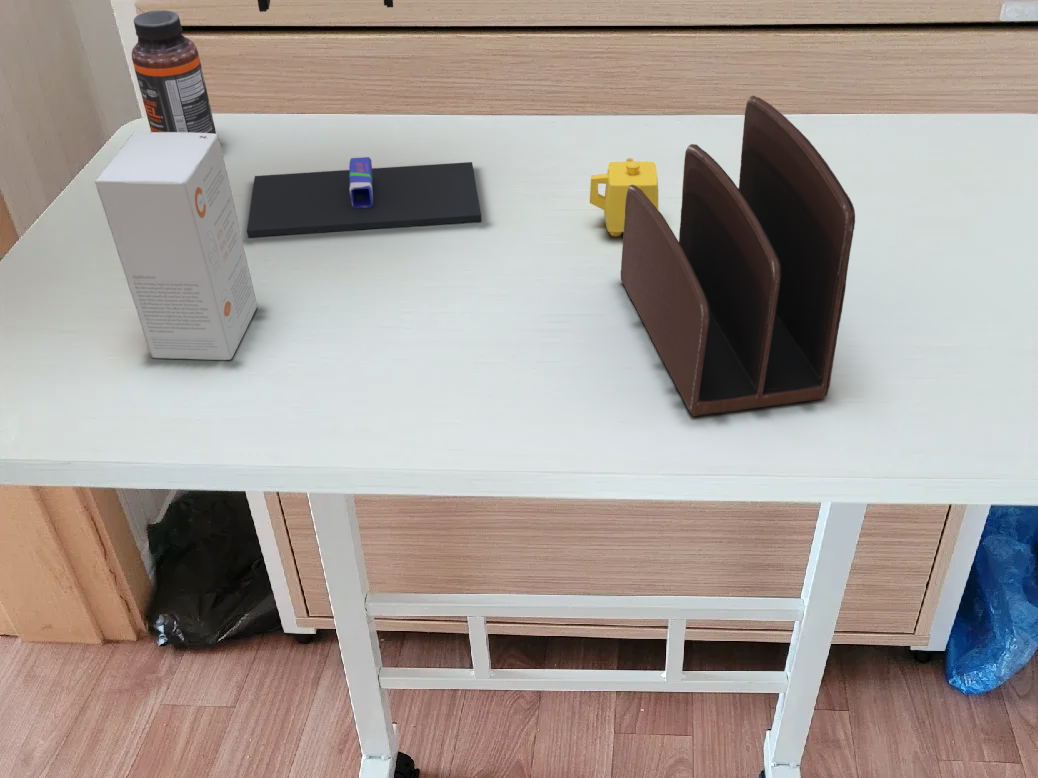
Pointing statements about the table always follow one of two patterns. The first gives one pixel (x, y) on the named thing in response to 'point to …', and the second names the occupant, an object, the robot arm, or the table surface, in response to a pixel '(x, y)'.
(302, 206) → the mat
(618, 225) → the teapot
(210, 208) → the small box
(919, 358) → the table surface
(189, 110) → the supplement bottle
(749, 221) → the letter holder
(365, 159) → the eraser
